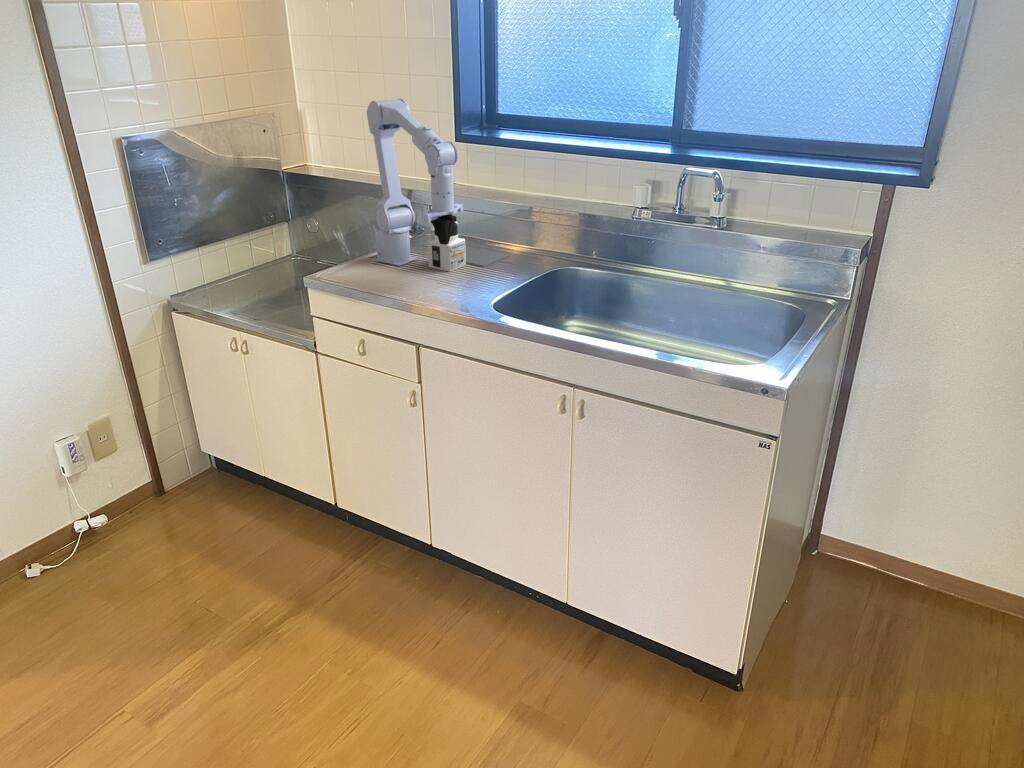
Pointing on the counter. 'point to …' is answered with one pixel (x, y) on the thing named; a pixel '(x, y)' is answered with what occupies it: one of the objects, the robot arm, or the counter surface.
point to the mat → (482, 256)
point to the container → (447, 252)
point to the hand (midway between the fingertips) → (444, 243)
